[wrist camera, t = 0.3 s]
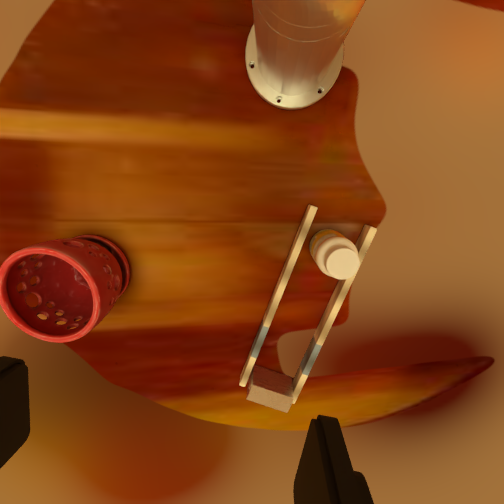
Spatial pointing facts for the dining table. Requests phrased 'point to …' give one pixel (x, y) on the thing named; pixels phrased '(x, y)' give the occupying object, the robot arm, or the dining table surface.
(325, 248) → the supplement bottle
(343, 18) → the robot arm
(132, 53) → the dining table surface
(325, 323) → the guide channel
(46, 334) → the plant pot
